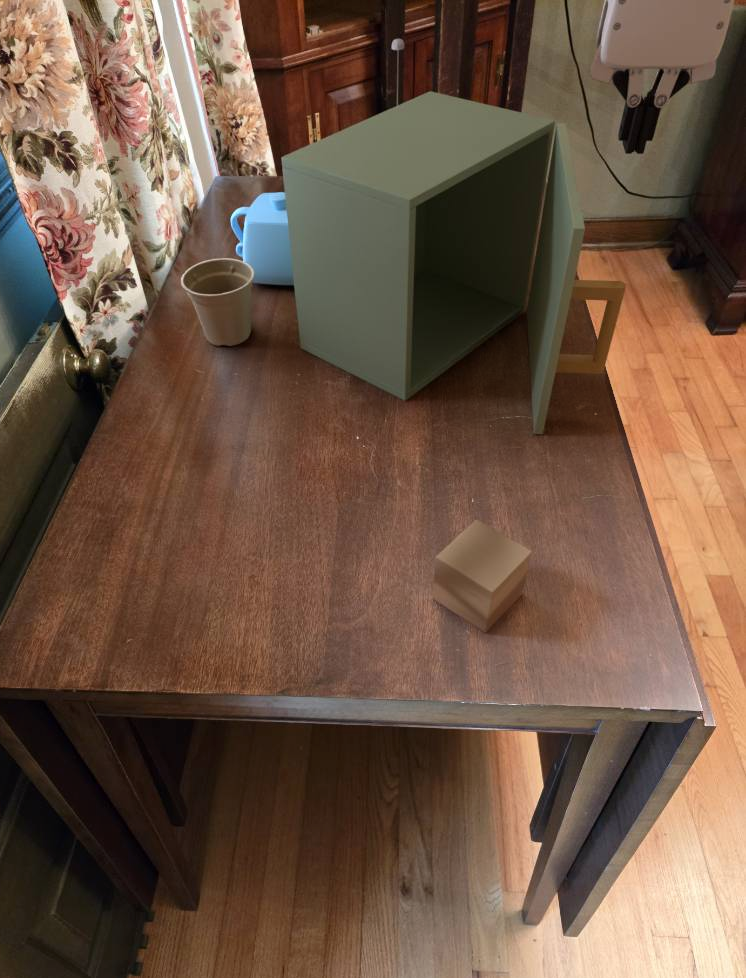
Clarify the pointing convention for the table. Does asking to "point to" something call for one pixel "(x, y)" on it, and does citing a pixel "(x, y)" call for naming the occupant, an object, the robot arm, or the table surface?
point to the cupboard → (415, 235)
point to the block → (480, 575)
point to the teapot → (266, 239)
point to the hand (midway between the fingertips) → (632, 148)
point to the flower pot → (221, 298)
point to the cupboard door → (562, 285)
